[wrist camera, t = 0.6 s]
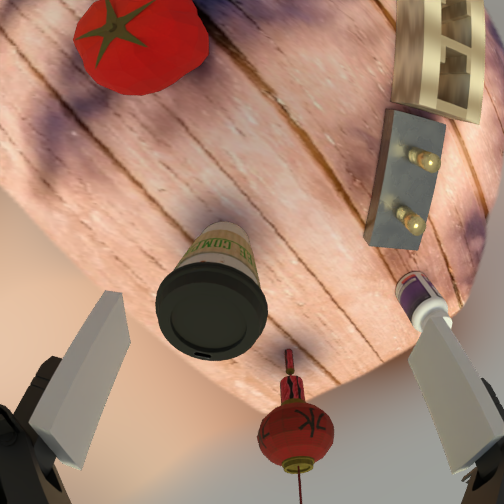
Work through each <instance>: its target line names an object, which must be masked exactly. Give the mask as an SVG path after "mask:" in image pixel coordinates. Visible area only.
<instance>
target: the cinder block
mask: <svg viewBox="0 0 504 504" xmlns="http://www.w3.org/2000/svg"><path fill="white" fill-rule="evenodd" d="M484 71H485V17H484V1H483V0H397V20H396V44H395V60H394V73H393V84H392V93H391V102H394V103H398V104H401V105H405V106H409V107H413V108H416V109H420V110H423V111H426V112H430V113H433V114H436V115H439V116H442V117H445V118H450V119H455V120H460V121H465V122H469V123H474V124H478V125H479V124H480V117H481V108H482V98H483V87H484Z"/></svg>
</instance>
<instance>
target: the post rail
mask: <svg viewBox="0 0 504 504" xmlns="http://www.w3.org/2000/svg"><path fill="white" fill-rule="evenodd" d="M445 130H446V124H442V123H439V122H436V121H433V120H429V119H426V118H422V117H419V116H415V115H411V114H408V113H404V112H400V111H396V110H389V109H386V111H385V119H384V127H383V134H382V141H381V147H380V153H379V160H378V166H377V171H376V177H375V182H374V188H373V193H372V198H371V203H370V208H369V213H368V217H367V222H366V227H365V231H364V235H363V238H364V239H365V241H366V242H367V244H368V245H369V246H374V247H385V248H396V249H407V250H418V249H419V245H420V242H421V239H422V235H423V232H424V231H425V229H426V221H427V217H428V213H429V209H430V205H431V201H432V197H433V193H434V188H435V184H436V179H437V174H438V170H439V169H440V166H441V160H440V159H441V154H442V148H443V142H444V136H445Z"/></svg>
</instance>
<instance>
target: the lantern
mask: <svg viewBox="0 0 504 504" xmlns="http://www.w3.org/2000/svg"><path fill="white" fill-rule="evenodd" d="M284 353H285V364H286V373H287V374H288V375H290V376H287V377H284V378H283V379H282V380H281V382H280V391H281V406H279V407H276V408H275V409H274V410H273V411H271V412H270V413H269V414H268V415H267V416H266V417H265V418H264V419H263V420H262V422H261V425H260V429H259V432H258V436H257V439H258V443H259V447H260V449H261V451H262V453H263V454H264V455H265V456H266V457H267V458H268V459H269V460H270V461H271V462H273V463H275V464H277V465H280V466H282V467H283V468H284V471H285V472H287V473H291V474H298V481H299V497H300V504H302V495H301V480H300V473H305V472H308V471H310V470H312V469H313V464H314V463H315V462H317V461H318V460H320V459H322V458H323V457H324V456H325V454H326V453H327V452H328V450H329V449H330V447H331V446H332V444H333V439H334V426H333V423H332V421H331V419H330V417H329V416H328V415H327V414H326V413H325V412H324V411H323V410H321V409H319V408H318V407H316V406H315V405H312V404H308V403H306V402H305V396H304V388H303V381H302V379H301V378H300V377H298V376H291V375H292V374H293V373H294V371H295V370H294V363H293V354H292V350H290V349H287V350H285V352H284Z"/></svg>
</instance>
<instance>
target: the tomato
mask: <svg viewBox="0 0 504 504" xmlns="http://www.w3.org/2000/svg"><path fill="white" fill-rule="evenodd" d="M73 41H74V44H75V47H76V48H77V50H78V52H79V54H80V56H81V58H82V60H83V63H84V67H85V70H86V71H87V73H88V74H89V75H90V76H91V77H92V78H93V79H94V80H95V81H96V82H97V84H99V85H102V86H104V87H106V88H109V89H111V90H113V91H115V92H118V93H120V94H123V95H141V96H142V95H146V94H150V93H154V92H158V91H161V90H163V89H164V88H166V87H168V86H170V85H172V84H174V83H175V82H176V81H177V80H179V79H180V78H181V77H183V76H184V75H186V74H187V73H189V72H190V71H192V70H193V69H195V68H197V67H198V66H200V65H201V64H202V62H203V61H204V60H205V59H206V57H207V56H208V55H209V37H208V33H207V31H206V29H205V27H204V25H203V23H202V21H201V19H200V18H199V17H198V15H197V9H196V7H195V5H194V3H193V2H192V0H99V1H96V2H94V3H93V4H92V5H91V7H90V8H89V9H88V10H87V12H86V13H85V14H84V15H83V17H82V18H81V19H80V21H79V22H78V24H77V27H76V31H75V34H74V38H73Z"/></svg>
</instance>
